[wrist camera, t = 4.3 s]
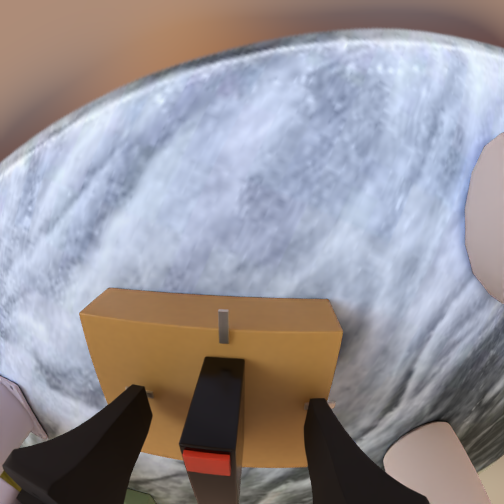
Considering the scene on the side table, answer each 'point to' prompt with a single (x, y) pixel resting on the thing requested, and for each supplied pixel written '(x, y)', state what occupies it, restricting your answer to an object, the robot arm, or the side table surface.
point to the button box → (137, 498)
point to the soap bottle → (487, 218)
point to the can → (435, 466)
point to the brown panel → (217, 345)
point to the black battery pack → (216, 431)
